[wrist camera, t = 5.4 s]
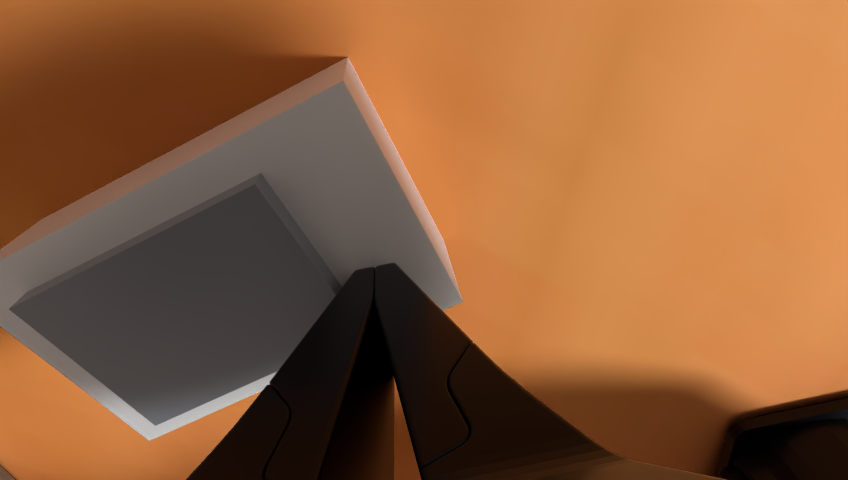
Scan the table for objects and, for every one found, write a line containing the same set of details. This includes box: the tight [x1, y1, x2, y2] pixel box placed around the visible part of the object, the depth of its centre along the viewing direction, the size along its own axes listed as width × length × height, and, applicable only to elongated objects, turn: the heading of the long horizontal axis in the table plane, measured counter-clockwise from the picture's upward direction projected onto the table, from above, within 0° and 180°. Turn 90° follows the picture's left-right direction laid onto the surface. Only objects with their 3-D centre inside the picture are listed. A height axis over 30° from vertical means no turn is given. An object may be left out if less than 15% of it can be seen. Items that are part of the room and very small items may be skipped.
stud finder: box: [0, 57, 463, 441], centre depth 10 cm, size 8×5×4 cm, turn 115°
